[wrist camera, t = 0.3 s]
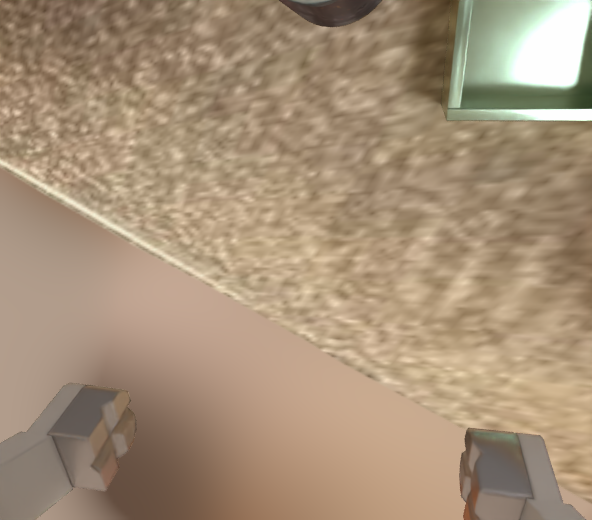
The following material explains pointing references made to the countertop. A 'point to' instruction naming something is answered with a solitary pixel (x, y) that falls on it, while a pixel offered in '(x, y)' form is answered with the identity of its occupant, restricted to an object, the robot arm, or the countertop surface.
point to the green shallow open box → (518, 61)
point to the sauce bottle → (332, 10)
